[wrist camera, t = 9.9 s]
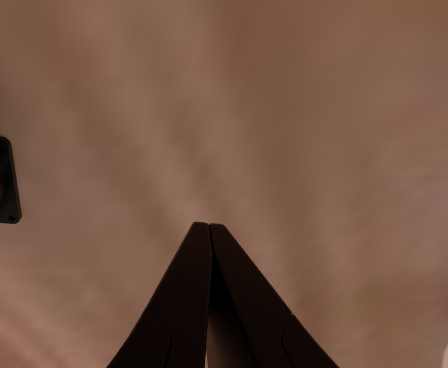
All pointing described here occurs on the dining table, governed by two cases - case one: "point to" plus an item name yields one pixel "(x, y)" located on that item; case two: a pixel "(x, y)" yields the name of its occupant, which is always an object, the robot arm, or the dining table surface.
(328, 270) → the dining table surface
